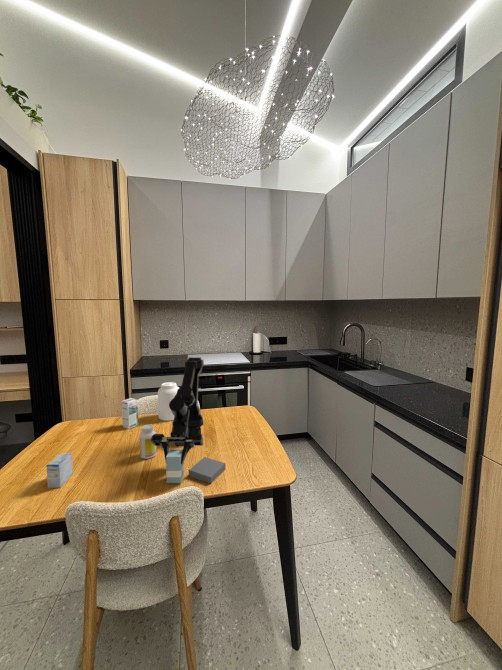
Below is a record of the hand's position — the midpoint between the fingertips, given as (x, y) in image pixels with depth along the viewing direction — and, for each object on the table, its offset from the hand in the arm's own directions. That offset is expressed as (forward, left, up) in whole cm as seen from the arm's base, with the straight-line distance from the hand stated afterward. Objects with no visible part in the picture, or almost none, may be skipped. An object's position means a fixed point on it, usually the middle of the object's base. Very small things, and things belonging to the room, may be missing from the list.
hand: (174, 463), depth 98 cm
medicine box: (-38, -18, -7) cm, 42 cm away
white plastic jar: (-44, +45, -7) cm, 63 cm away
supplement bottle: (-23, +9, -7) cm, 26 cm away
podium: (+7, +10, -7) cm, 14 cm away
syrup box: (-54, +26, -7) cm, 60 cm away
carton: (-1, +1, -7) cm, 7 cm away
